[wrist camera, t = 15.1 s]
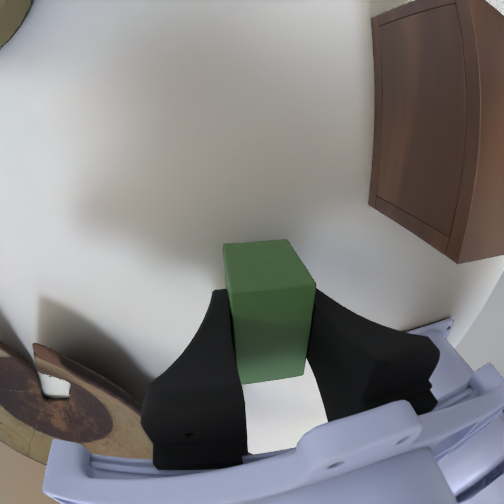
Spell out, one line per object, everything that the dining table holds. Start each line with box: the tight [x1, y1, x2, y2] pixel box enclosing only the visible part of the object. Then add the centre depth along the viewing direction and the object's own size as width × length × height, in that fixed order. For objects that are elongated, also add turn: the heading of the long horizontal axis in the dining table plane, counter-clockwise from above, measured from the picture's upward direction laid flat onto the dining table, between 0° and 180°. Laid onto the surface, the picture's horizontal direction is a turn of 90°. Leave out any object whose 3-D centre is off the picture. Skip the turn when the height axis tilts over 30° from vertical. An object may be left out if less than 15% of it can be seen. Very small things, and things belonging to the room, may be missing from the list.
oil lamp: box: [0, 341, 253, 466], centre depth 16 cm, size 22×30×8 cm
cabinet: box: [369, 0, 504, 264], centre depth 11 cm, size 14×12×8 cm
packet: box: [223, 239, 316, 384], centre depth 12 cm, size 5×3×4 cm, turn 1°
